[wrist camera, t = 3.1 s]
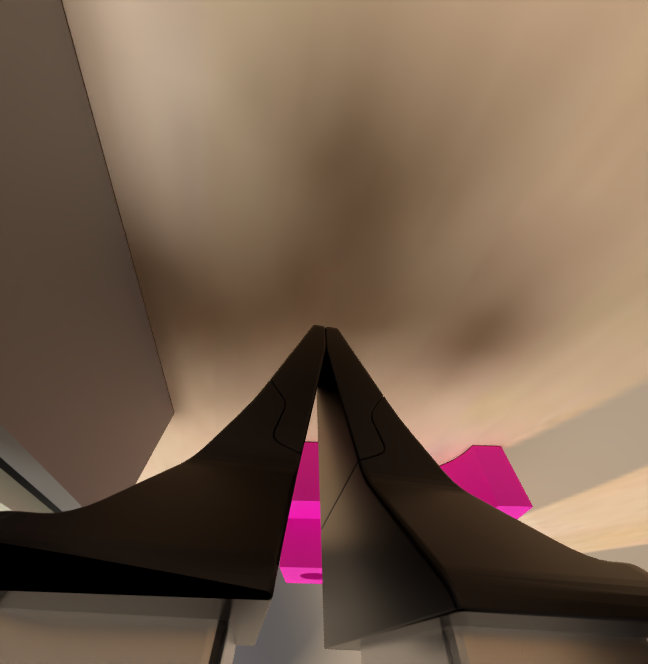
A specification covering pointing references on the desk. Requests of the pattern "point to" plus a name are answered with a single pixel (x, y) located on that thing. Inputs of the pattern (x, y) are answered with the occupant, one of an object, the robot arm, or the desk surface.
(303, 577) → the magenta saddle bracket
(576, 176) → the desk surface
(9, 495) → the trapdoor
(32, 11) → the hatch box
